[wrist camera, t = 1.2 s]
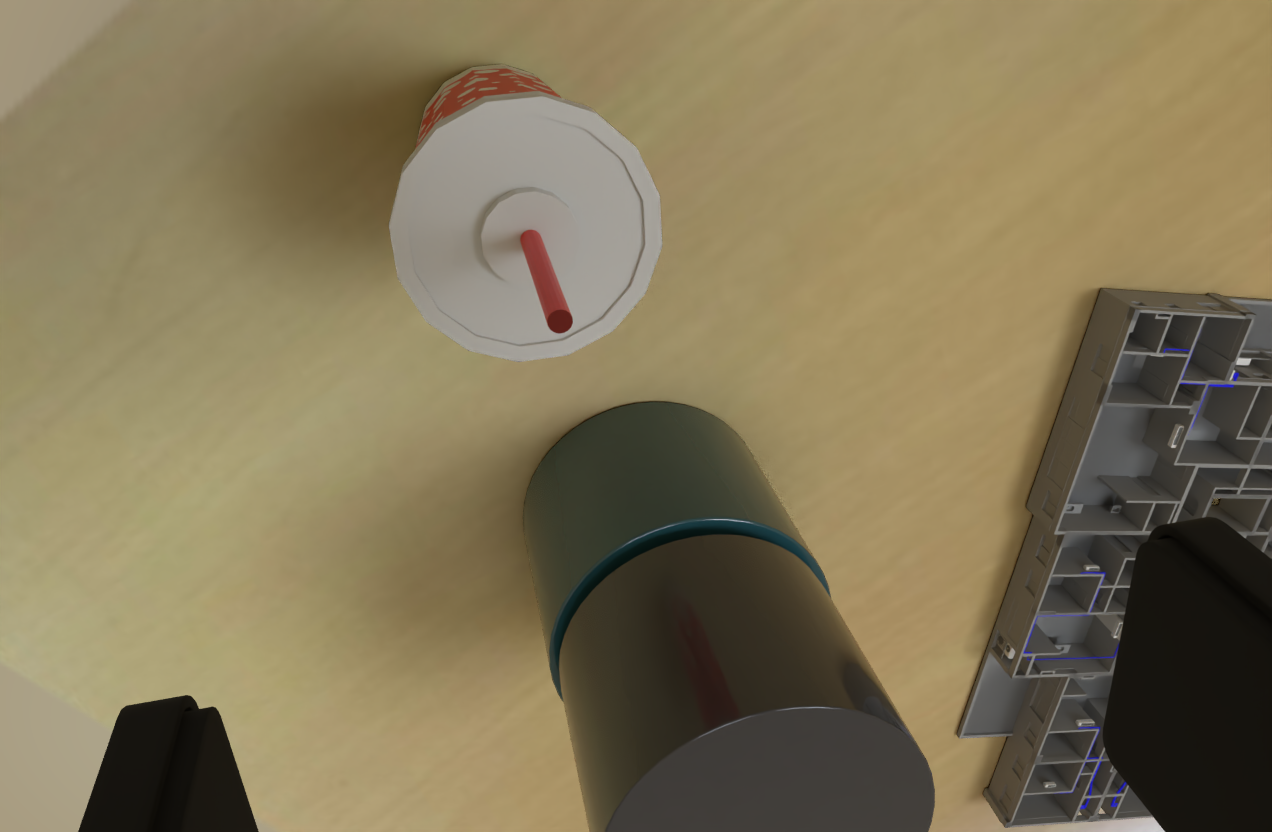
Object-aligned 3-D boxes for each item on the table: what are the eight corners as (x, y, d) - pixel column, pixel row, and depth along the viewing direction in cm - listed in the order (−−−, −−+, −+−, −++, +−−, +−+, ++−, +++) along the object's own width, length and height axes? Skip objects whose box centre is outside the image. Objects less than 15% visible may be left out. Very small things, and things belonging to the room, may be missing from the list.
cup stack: (483, 573, 38) (529, 939, 25) (586, 366, 35) (697, 661, 22) (692, 631, 41) (828, 983, 28) (802, 446, 38) (1010, 744, 25)
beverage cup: (586, 250, 33) (695, 471, 21) (387, 236, 32) (381, 465, 20) (610, 48, 31) (750, 168, 19) (394, 23, 29) (392, 135, 17)
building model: (1102, 286, 38) (1136, 306, 36) (1483, 312, 42) (1530, 331, 40) (925, 797, 49) (945, 832, 47) (1242, 777, 53) (1271, 809, 51)
